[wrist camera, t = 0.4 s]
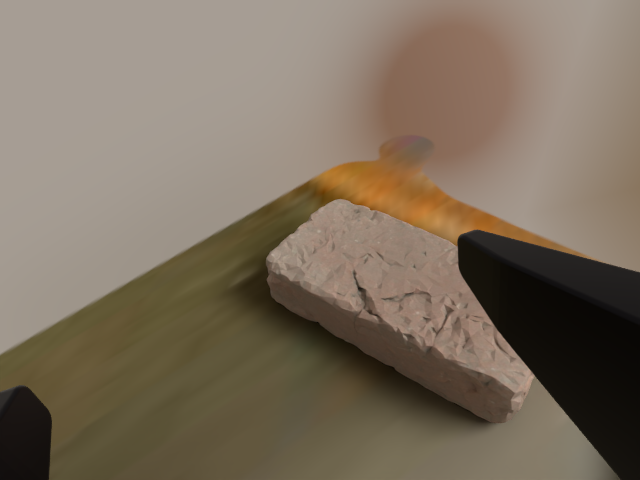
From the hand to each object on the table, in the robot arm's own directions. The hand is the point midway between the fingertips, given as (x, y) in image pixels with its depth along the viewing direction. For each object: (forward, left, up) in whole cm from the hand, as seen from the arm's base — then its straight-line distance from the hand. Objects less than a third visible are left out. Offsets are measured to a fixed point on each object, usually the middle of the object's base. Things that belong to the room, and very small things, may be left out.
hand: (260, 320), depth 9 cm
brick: (+11, -8, -16) cm, 21 cm away
